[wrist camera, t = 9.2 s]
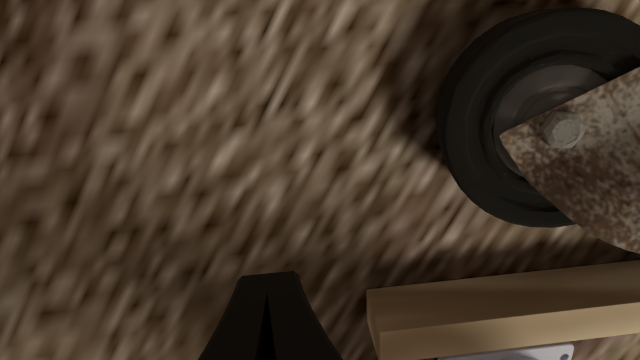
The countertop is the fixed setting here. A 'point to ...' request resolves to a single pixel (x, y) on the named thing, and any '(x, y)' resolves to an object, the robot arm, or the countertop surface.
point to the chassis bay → (504, 311)
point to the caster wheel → (549, 122)
